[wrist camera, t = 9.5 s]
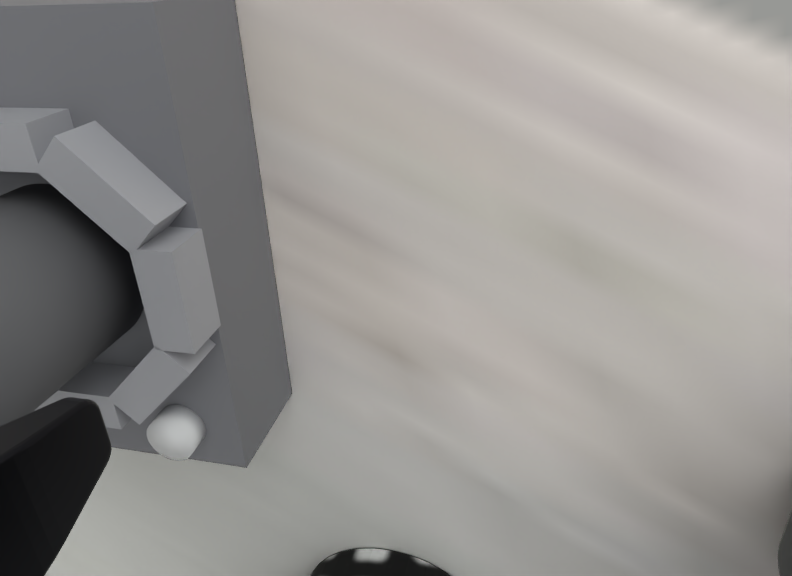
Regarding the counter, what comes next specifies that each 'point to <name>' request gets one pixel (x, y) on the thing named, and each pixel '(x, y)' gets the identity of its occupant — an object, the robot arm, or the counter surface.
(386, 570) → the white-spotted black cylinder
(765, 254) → the counter surface
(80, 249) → the lens
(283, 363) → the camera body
